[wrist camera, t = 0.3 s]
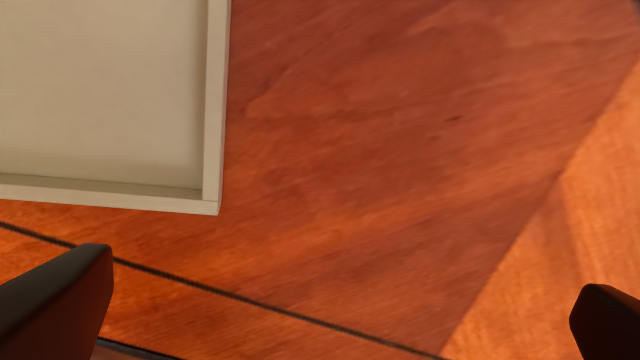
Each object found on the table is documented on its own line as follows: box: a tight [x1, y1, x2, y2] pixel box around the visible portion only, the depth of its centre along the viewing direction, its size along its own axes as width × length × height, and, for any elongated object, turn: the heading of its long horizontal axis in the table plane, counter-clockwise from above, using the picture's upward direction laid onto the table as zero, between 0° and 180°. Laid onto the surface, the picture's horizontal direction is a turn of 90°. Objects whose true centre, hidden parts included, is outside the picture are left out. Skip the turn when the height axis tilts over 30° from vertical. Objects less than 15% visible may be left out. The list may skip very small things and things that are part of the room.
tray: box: [0, 0, 232, 215], centre depth 20 cm, size 16×13×2 cm
